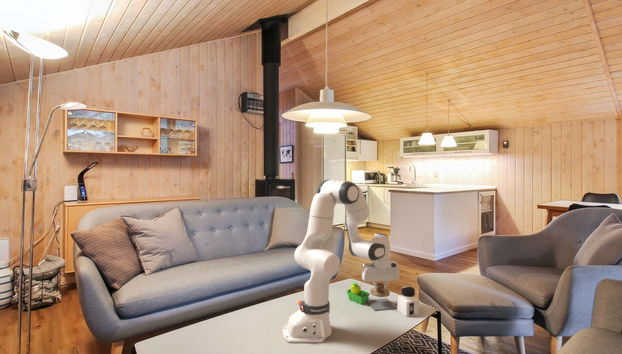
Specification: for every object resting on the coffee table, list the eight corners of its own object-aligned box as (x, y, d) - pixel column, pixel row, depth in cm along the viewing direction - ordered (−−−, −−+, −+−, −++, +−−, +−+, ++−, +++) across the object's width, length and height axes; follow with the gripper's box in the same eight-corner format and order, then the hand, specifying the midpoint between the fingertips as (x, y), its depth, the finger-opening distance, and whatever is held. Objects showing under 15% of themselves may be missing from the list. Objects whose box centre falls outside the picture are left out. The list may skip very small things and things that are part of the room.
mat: (374, 310, 170) (374, 309, 170) (366, 301, 182) (366, 300, 182) (396, 308, 173) (396, 307, 173) (386, 299, 184) (386, 298, 184)
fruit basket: (370, 302, 181) (370, 282, 180) (360, 307, 175) (360, 286, 174) (354, 295, 189) (354, 276, 189) (344, 300, 183) (344, 280, 183)
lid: (375, 297, 171) (375, 287, 170) (367, 290, 180) (368, 281, 180) (392, 296, 173) (393, 286, 172) (384, 289, 182) (385, 280, 182)
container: (419, 314, 166) (419, 289, 166) (406, 317, 163) (406, 291, 163) (409, 308, 173) (409, 284, 173) (397, 310, 171) (397, 286, 170)
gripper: (364, 265, 171) (364, 291, 171) (401, 264, 175) (400, 289, 175) (360, 262, 177) (359, 287, 178) (395, 260, 181) (395, 285, 181)
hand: (380, 288), depth 176 cm, fingers closed on lid, 3 cm apart
